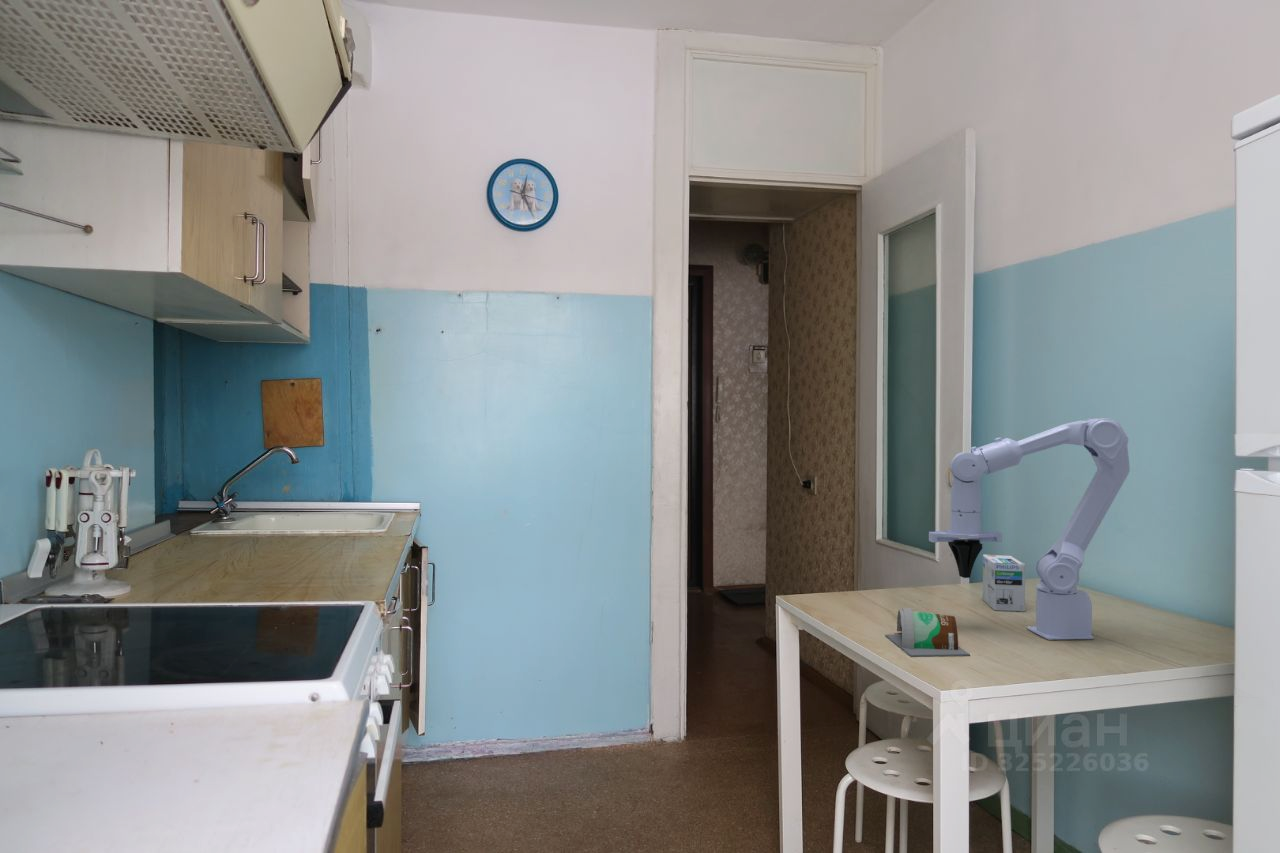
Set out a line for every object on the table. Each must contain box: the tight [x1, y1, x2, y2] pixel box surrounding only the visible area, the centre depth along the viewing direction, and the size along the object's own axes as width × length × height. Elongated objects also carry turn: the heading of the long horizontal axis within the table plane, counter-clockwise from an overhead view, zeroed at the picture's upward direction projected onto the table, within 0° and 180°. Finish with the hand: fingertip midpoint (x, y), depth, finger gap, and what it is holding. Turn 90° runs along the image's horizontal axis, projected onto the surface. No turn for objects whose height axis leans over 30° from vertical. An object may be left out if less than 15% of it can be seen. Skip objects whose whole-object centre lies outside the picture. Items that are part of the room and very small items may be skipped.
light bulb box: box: [982, 554, 1026, 613], centre depth 184 cm, size 11×7×11 cm, turn 171°
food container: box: [896, 607, 959, 650], centre depth 156 cm, size 12×6×10 cm
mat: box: [884, 633, 971, 658], centre depth 154 cm, size 11×13×1 cm
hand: (964, 576), depth 166 cm, fingers closed
